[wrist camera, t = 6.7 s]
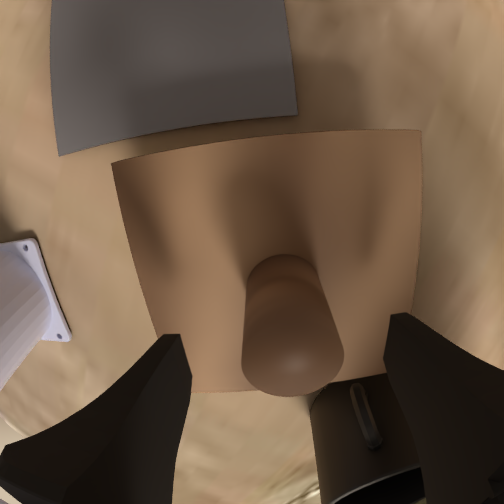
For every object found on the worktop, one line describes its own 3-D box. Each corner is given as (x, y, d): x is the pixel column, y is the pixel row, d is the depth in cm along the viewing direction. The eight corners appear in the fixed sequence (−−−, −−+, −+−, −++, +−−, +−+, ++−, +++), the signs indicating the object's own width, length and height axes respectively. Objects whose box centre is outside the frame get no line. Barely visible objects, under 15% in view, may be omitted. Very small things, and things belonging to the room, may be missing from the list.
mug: (406, 314, 18) (468, 417, 10) (424, 406, 22) (457, 484, 14) (276, 370, 20) (282, 488, 12) (329, 445, 24) (342, 528, 16)
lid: (181, 382, 16) (161, 460, 11) (119, 160, 12) (41, 188, 7) (395, 360, 15) (428, 432, 10) (412, 129, 11) (495, 141, 6)
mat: (62, 155, 15) (58, 156, 14) (58, -28, 10) (55, -30, 9) (296, 115, 14) (297, 115, 14) (267, -82, 9) (267, -86, 9)
